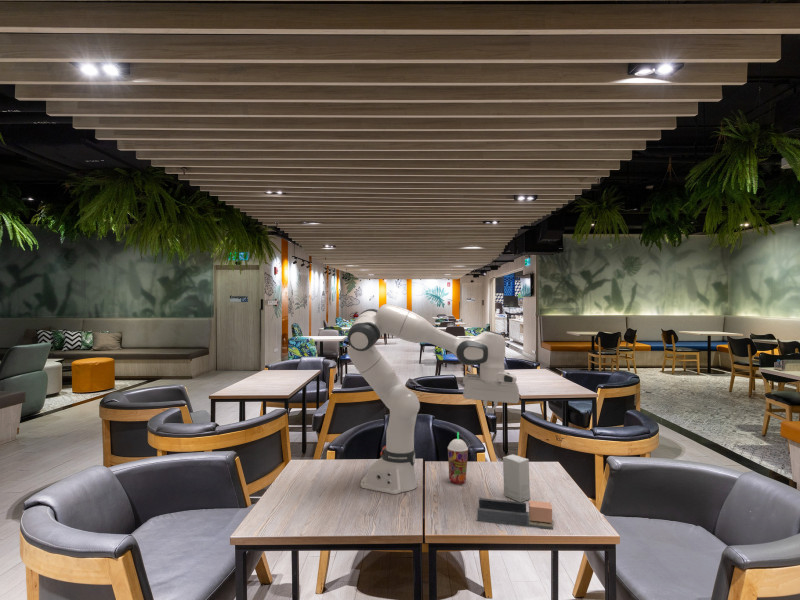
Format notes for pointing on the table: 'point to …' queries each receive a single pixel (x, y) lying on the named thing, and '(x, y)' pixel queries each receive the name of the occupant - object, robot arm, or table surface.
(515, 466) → the skincare box
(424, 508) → the table surface
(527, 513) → the chute
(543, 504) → the block
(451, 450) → the smoothie
